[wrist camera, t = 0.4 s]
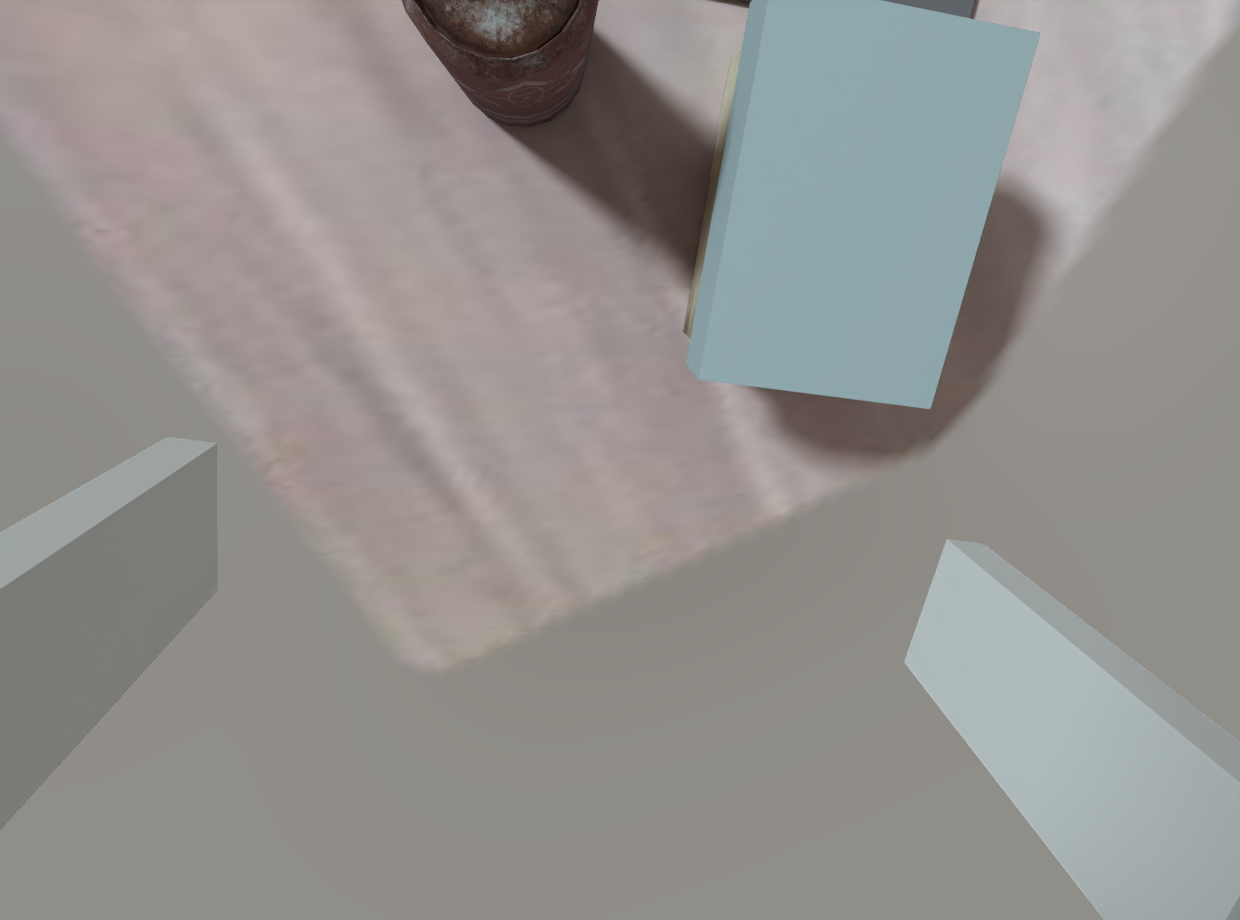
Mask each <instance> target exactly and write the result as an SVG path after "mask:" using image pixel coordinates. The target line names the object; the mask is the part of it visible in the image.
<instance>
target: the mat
mask: <svg viewBox="0 0 1240 920" xmlns="http://www.w3.org/2000/svg"><path fill="white" fill-rule="evenodd" d="M740 1H745V2H751V1H752V0H740ZM882 1H887V2H892V3H897V4H902V5H907V6H912V7H916V8H921V9H926V10H931V11H936V12H941V13H946V14H951V15H956V16H961V17H965V18H970V17H971V13H972V9H973V5H974V2H975V0H882Z"/></svg>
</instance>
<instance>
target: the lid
mask: <svg viewBox="0 0 1240 920" xmlns="http://www.w3.org/2000/svg"><path fill="white" fill-rule="evenodd" d="M1039 37H1040V33H1039V32H1034V31H1029V30H1024V29H1019V28H1014V27H1010V26H1005V25H1000V24H995V23H990V22H985V21H980V20H975V19H970V18H965V17H961V16H956V15H951V14H946V13H941V12H936V11H931V10H926V9H921V8H916V7H912V6H907V5H902V4H897V3H892V2H887V1H882V0H752V1H751V2H750V5H749V11H748V16H747V22H746V28H745V33H744V39H743V45H742V50H741V56H740V62H739V67H738V73H737V79H736V84H735V90H734V96H733V101H732V107H731V113H730V118H729V124H728V129H727V135H726V141H725V146H724V152H723V158H722V163H721V169H720V175H719V180H718V186H717V192H716V197H715V203H714V209H713V214H712V220H711V225H710V231H709V237H708V242H707V248H706V254H705V259H704V265H703V271H702V276H701V282H700V288H699V293H698V299H697V305H696V310H695V316H694V321H693V327H692V333H691V338H690V344H689V350H688V355H687V361H686V365H687V367H688V368H689V369H690V370H691V371H692V372H693V374H694V375H695V376H696V377H697V378H698V379H699V380H707V381H714V382H722V383H730V384H738V385H746V386H753V387H761V388H769V389H777V390H785V391H792V392H800V393H808V394H816V395H824V396H831V397H839V398H847V399H855V400H863V401H870V402H878V403H886V404H894V405H902V406H909V407H917V408H925V409H931V406H932V402H933V399H934V396H935V392H936V389H937V385H938V382H939V379H940V375H941V372H942V368H943V365H944V361H945V358H946V355H947V351H948V348H949V344H950V341H951V338H952V334H953V331H954V327H955V324H956V320H957V317H958V314H959V310H960V307H961V303H962V300H963V296H964V293H965V290H966V286H967V283H968V279H969V276H970V273H971V269H972V266H973V262H974V259H975V255H976V252H977V249H978V245H979V242H980V238H981V235H982V232H983V228H984V225H985V221H986V218H987V214H988V211H989V208H990V204H991V201H992V197H993V194H994V190H995V187H996V184H997V180H998V177H999V173H1000V170H1001V167H1002V163H1003V160H1004V156H1005V153H1006V149H1007V146H1008V143H1009V139H1010V136H1011V132H1012V129H1013V126H1014V122H1015V119H1016V115H1017V112H1018V108H1019V105H1020V102H1021V98H1022V95H1023V91H1024V88H1025V84H1026V81H1027V78H1028V74H1029V71H1030V67H1031V64H1032V61H1033V57H1034V54H1035V50H1036V47H1037V43H1038V40H1039Z"/></svg>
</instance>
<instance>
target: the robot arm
mask: <svg viewBox="0 0 1240 920" xmlns="http://www.w3.org/2000/svg"><path fill="white" fill-rule="evenodd" d="M217 589H218V587H217V443H210V442H202V441H194V440H186V439H179V438H171V437H167V438H165V439H163V440H161V441H160V442H158V443H156V444H154V445H153V446H151V447H149V448H147V449H145V450H144V451H142V452H140V453H138V454H137V455H135V456H133V457H131V458H130V459H128V460H126V461H124V462H123V463H121V464H119V465H117V466H116V467H114V468H112V469H111V470H109V471H107V472H105V473H103V474H102V475H100V476H98V477H96V478H95V479H93V480H91V481H89V482H88V483H86V484H84V485H82V486H81V487H79V488H77V489H75V490H74V491H72V492H70V493H69V494H67V495H65V496H63V497H62V498H60V499H58V500H56V501H54V502H53V503H51V504H49V505H47V506H46V507H44V508H42V509H40V510H39V511H37V512H35V513H33V514H32V515H30V516H28V517H26V518H25V519H23V520H21V521H19V522H17V523H16V524H14V525H12V526H10V527H9V528H7V529H5V530H3V531H2V532H0V830H1V829H2V828H3V826H4V825H5V824H6V823H7V822H8V821H9V820H10V819H11V818H12V817H13V815H14V814H15V813H16V812H17V811H18V810H19V809H20V808H21V807H22V805H23V804H24V803H25V802H26V801H27V800H28V799H29V798H30V797H31V796H32V795H33V793H34V792H35V791H36V790H37V789H38V788H39V787H40V786H41V785H42V783H43V782H44V781H45V780H46V779H47V778H48V777H49V776H50V775H51V773H52V772H53V771H54V770H55V769H56V768H57V767H58V766H59V765H60V763H61V762H62V761H63V760H64V759H65V758H66V757H67V756H68V755H69V754H70V753H71V751H72V750H73V749H74V748H75V747H76V746H77V745H78V744H79V743H80V741H81V740H82V739H83V738H84V737H85V736H86V735H87V734H88V732H89V731H90V730H91V729H92V728H93V727H94V726H95V725H96V724H97V723H98V721H99V720H100V719H101V718H102V717H103V716H104V715H105V714H106V713H107V712H108V711H109V709H110V708H111V707H112V706H113V705H114V704H115V703H116V702H117V701H118V699H119V698H120V697H121V696H122V695H123V694H124V693H125V692H126V691H127V689H128V688H129V687H130V686H131V685H132V684H133V683H134V682H135V681H136V680H137V678H138V677H139V676H140V675H141V674H142V673H143V672H144V671H145V669H146V668H147V667H148V666H149V665H150V664H151V663H152V662H153V661H154V660H155V659H156V657H157V656H158V655H159V654H160V653H161V652H162V651H163V649H165V647H166V646H167V645H168V644H169V643H170V642H171V641H172V640H173V639H174V637H175V636H176V635H177V634H178V633H179V632H180V631H181V630H182V629H183V628H184V627H185V625H186V624H187V623H188V622H189V621H190V620H191V619H192V618H193V617H194V615H195V614H196V613H197V612H198V611H199V610H200V609H201V608H202V607H203V606H204V604H205V603H206V602H207V601H208V600H209V599H210V598H211V597H212V596H213V594H214V593H215V592H216V591H217ZM904 662H905V664H906V665H907V666H908V668H909V669H910V670H911V671H912V673H913V674H914V675H915V676H916V678H917V679H918V680H919V682H920V683H921V684H922V685H923V687H924V688H925V689H926V691H927V692H928V693H929V695H930V696H931V697H932V699H933V700H934V701H935V702H936V704H937V705H938V706H939V708H940V709H941V710H942V711H943V713H944V714H945V715H946V717H947V718H948V719H949V720H950V722H951V723H952V724H953V725H954V727H955V728H956V729H957V731H958V732H959V733H960V735H961V736H962V737H963V738H964V740H965V741H966V742H967V744H968V745H969V746H970V747H971V749H972V750H973V751H974V753H975V754H976V755H977V756H978V758H979V759H980V760H981V762H982V763H983V764H984V766H985V767H986V768H987V769H988V771H989V772H990V773H991V775H992V776H993V777H994V778H995V780H996V781H997V782H998V783H999V785H1000V786H1001V787H1002V789H1003V790H1004V791H1005V793H1006V794H1007V795H1008V796H1009V798H1010V799H1011V800H1012V802H1013V803H1014V804H1015V806H1016V807H1017V808H1018V809H1019V811H1020V812H1021V813H1022V814H1023V816H1024V817H1025V818H1026V820H1027V821H1028V822H1029V823H1030V825H1031V826H1032V827H1033V829H1034V830H1035V831H1036V833H1037V834H1038V835H1039V836H1040V838H1041V839H1042V840H1043V841H1044V843H1045V844H1046V845H1047V847H1048V848H1049V849H1050V851H1051V852H1052V853H1053V855H1054V856H1055V857H1056V858H1057V860H1058V861H1059V862H1060V864H1061V865H1062V866H1063V867H1064V869H1065V870H1066V871H1067V872H1068V874H1069V875H1070V876H1071V878H1072V879H1073V880H1074V882H1075V883H1076V884H1077V885H1078V887H1079V888H1080V889H1081V891H1082V892H1083V893H1084V894H1085V896H1086V897H1087V898H1088V899H1089V901H1090V902H1091V903H1092V905H1093V906H1094V907H1095V908H1096V910H1097V911H1098V912H1099V914H1100V915H1101V916H1102V918H1103V919H1104V920H1240V741H1238V740H1237V739H1235V738H1234V737H1233V736H1232V735H1231V734H1229V733H1228V732H1227V731H1225V730H1224V729H1223V728H1221V727H1220V726H1219V725H1218V724H1216V723H1215V722H1214V721H1212V720H1211V719H1210V718H1209V717H1207V716H1206V715H1205V714H1203V713H1202V712H1201V711H1199V710H1198V709H1196V707H1194V706H1193V705H1192V704H1190V703H1189V702H1188V701H1186V700H1185V699H1184V698H1183V697H1181V696H1180V695H1178V694H1177V693H1176V692H1175V691H1173V690H1172V689H1171V688H1170V687H1168V686H1167V685H1166V684H1164V683H1163V682H1162V681H1161V680H1159V679H1158V678H1157V677H1155V676H1154V675H1153V674H1152V673H1150V672H1149V671H1148V670H1146V669H1145V668H1144V667H1142V666H1141V665H1140V664H1139V663H1137V662H1136V661H1135V660H1133V659H1132V658H1131V657H1129V656H1128V655H1127V654H1125V653H1124V652H1123V651H1122V650H1120V649H1119V648H1118V647H1117V646H1115V645H1114V644H1113V643H1111V642H1110V641H1109V640H1107V639H1106V638H1105V637H1104V636H1102V635H1101V634H1099V633H1098V632H1097V631H1096V630H1095V629H1093V628H1092V627H1091V626H1089V625H1088V624H1087V623H1085V622H1084V621H1083V620H1081V619H1080V618H1079V617H1078V616H1076V615H1075V614H1074V613H1072V612H1071V611H1070V610H1069V609H1067V608H1066V607H1064V606H1063V605H1062V604H1061V603H1060V602H1058V601H1057V600H1056V599H1054V598H1053V597H1052V596H1050V595H1049V594H1048V593H1047V592H1045V591H1044V590H1042V589H1041V588H1040V587H1039V586H1037V585H1036V584H1035V583H1034V582H1032V581H1031V580H1030V579H1028V578H1027V577H1026V576H1025V575H1023V574H1022V573H1021V572H1019V571H1018V570H1017V569H1016V568H1014V567H1013V566H1011V565H1010V564H1009V563H1008V562H1006V561H1005V560H1004V559H1003V558H1001V557H1000V556H999V555H997V554H996V553H995V552H993V551H992V550H991V549H989V548H988V547H987V546H986V545H984V544H980V543H972V542H964V541H957V540H949V539H947V541H946V544H945V547H944V549H943V552H942V555H941V558H940V561H939V564H938V567H937V570H936V573H935V575H934V578H933V581H932V584H931V587H930V590H929V592H928V596H927V598H926V601H925V604H924V607H923V610H922V613H921V615H920V618H919V621H918V624H917V627H916V630H915V633H914V636H913V638H912V641H911V644H910V647H909V650H908V653H907V656H906V659H905V661H904Z"/></svg>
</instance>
